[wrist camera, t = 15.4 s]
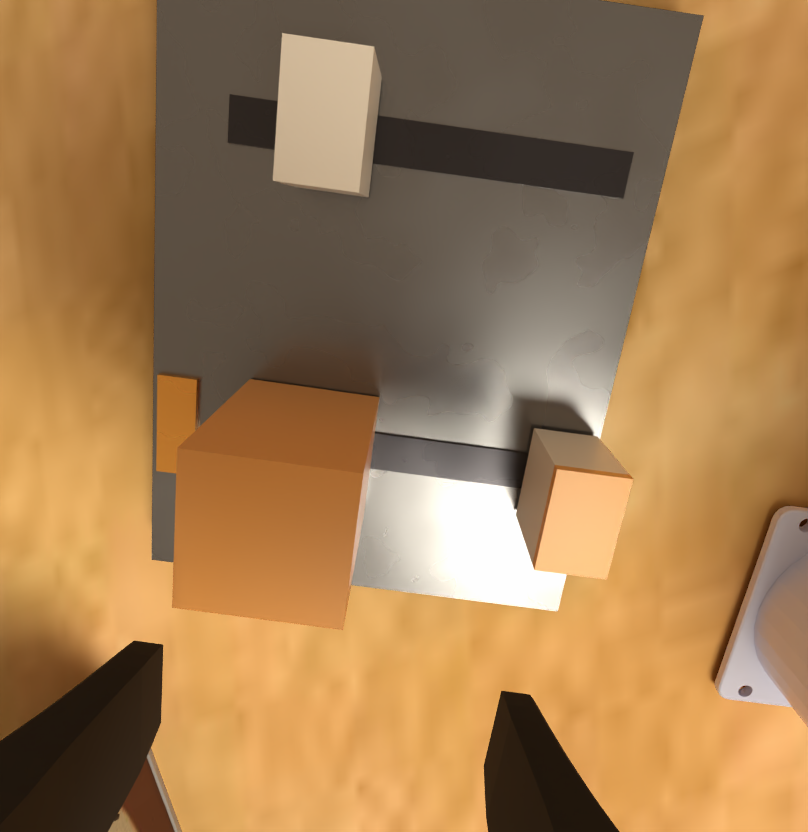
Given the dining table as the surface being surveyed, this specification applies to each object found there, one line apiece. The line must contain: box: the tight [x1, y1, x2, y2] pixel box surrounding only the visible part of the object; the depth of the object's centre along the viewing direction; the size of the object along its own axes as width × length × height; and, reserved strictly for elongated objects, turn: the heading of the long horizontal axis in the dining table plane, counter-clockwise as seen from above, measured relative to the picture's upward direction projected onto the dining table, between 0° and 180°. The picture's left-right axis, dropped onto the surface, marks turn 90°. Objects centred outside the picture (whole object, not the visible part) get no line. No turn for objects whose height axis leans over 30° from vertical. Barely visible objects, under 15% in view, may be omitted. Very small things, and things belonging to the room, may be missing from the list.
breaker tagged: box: [516, 428, 633, 580], centre depth 18 cm, size 2×3×3 cm, turn 172°
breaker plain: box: [273, 33, 382, 197], centre depth 15 cm, size 2×3×3 cm, turn 173°
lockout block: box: [172, 379, 380, 630], centre depth 17 cm, size 4×4×6 cm
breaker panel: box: [152, 0, 704, 611], centre depth 19 cm, size 14×18×2 cm
